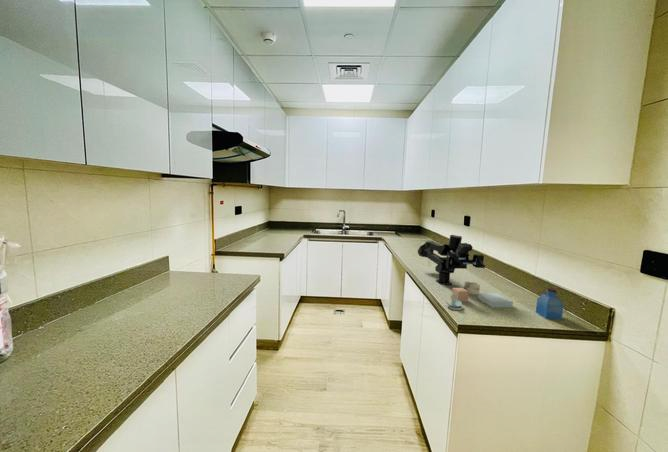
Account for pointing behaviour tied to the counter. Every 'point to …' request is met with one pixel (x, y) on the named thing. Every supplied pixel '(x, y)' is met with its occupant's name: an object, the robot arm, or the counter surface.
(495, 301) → the blue-grey slab
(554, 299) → the perfume bottle
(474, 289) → the birch cube
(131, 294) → the counter surface
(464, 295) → the terracotta cube
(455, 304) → the pacifier
